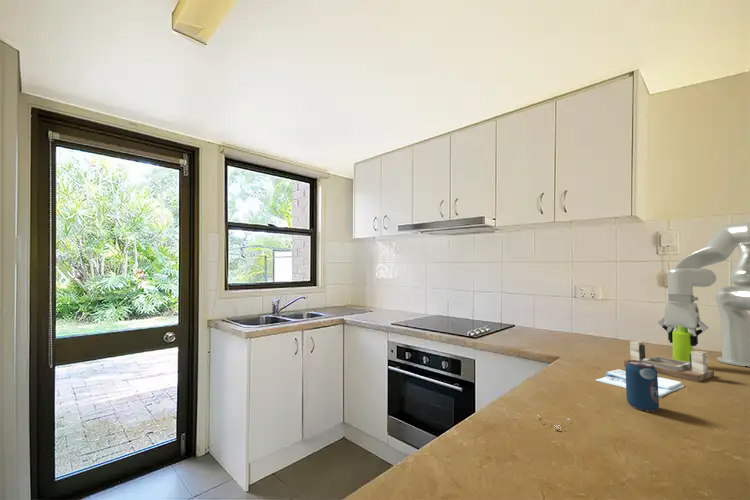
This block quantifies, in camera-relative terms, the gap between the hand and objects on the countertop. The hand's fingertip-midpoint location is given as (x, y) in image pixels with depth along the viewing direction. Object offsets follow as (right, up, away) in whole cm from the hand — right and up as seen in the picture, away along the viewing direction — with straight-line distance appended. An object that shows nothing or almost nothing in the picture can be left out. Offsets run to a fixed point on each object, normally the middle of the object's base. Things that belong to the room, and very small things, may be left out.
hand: (682, 343), depth 133 cm
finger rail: (-13, -8, -8) cm, 17 cm away
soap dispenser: (0, -9, -1) cm, 9 cm away
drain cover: (-80, -5, -52) cm, 96 cm away
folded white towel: (-36, -8, -22) cm, 43 cm away
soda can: (-50, -6, -42) cm, 66 cm away
